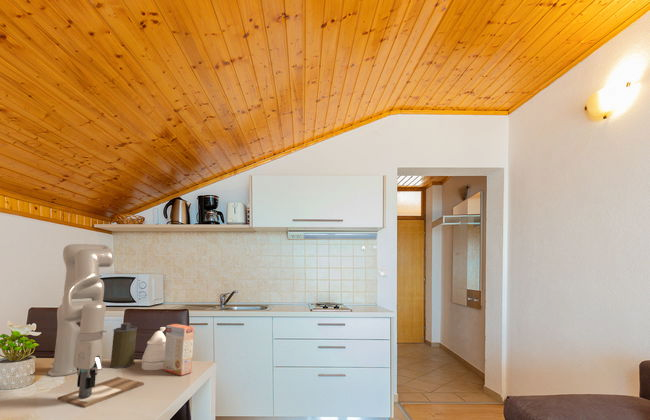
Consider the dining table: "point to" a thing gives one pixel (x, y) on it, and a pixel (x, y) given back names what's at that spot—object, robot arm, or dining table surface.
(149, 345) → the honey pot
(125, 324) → the canister
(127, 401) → the dining table surface
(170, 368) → the cracker box
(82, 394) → the marker
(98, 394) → the writing board
